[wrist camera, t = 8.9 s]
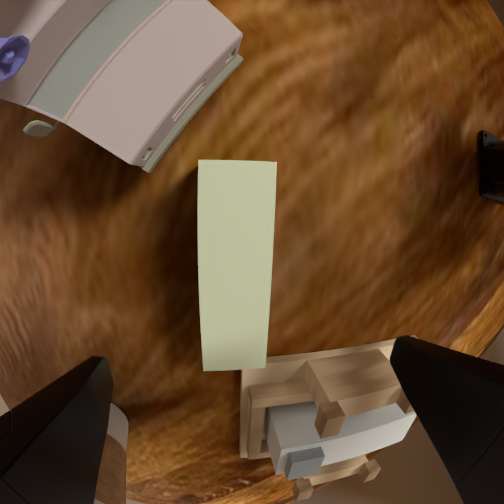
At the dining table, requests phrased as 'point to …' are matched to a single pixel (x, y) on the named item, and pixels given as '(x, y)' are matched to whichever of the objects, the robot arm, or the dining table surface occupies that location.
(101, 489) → the coffee cup
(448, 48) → the dining table surface
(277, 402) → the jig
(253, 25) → the dining table surface
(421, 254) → the dining table surface
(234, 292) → the pale green rectangular block
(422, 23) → the dining table surface
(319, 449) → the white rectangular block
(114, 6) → the toy vehicle
